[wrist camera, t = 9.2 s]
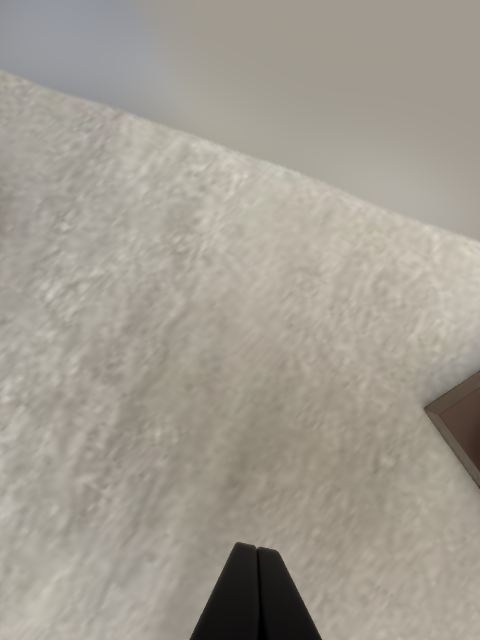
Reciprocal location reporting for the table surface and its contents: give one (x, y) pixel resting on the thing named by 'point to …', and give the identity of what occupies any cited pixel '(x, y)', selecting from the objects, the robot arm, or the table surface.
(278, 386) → the table surface
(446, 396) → the button block
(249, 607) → the robot arm
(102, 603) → the table surface
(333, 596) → the table surface
